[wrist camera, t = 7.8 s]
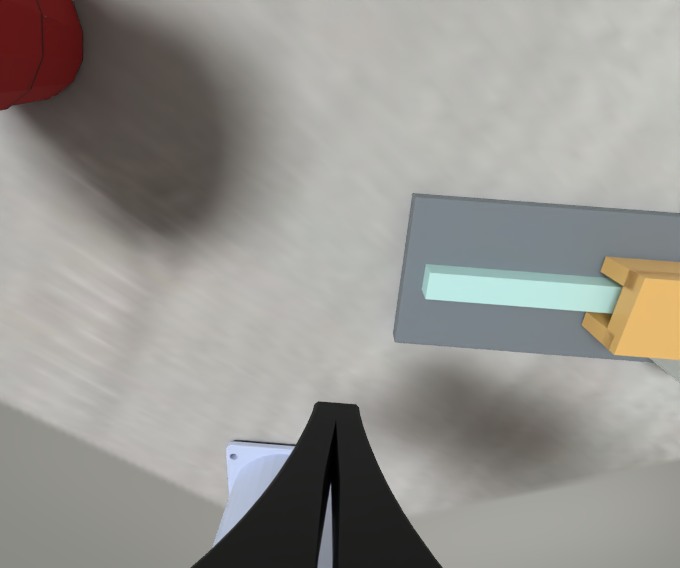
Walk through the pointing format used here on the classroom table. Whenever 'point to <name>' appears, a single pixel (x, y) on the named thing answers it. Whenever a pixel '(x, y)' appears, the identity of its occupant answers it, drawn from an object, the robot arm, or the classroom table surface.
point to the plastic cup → (37, 49)
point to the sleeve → (641, 309)
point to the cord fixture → (520, 273)
